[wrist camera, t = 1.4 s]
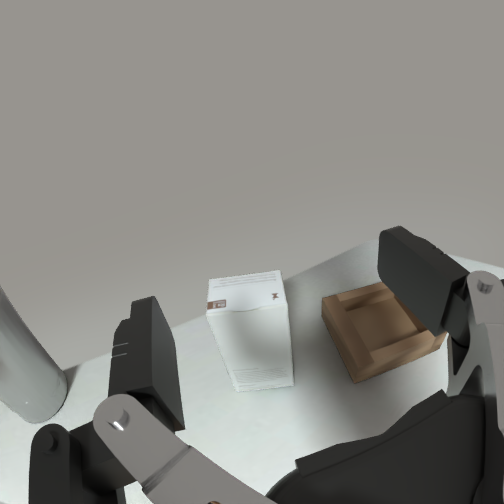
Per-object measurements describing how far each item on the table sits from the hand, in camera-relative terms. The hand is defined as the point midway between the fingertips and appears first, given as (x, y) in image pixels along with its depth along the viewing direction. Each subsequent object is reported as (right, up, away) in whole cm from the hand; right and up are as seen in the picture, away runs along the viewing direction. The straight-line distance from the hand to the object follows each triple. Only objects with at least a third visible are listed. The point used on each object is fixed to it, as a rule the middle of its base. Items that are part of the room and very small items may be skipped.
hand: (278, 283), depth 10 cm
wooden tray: (+14, -8, +22) cm, 27 cm away
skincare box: (0, -12, +20) cm, 23 cm away
